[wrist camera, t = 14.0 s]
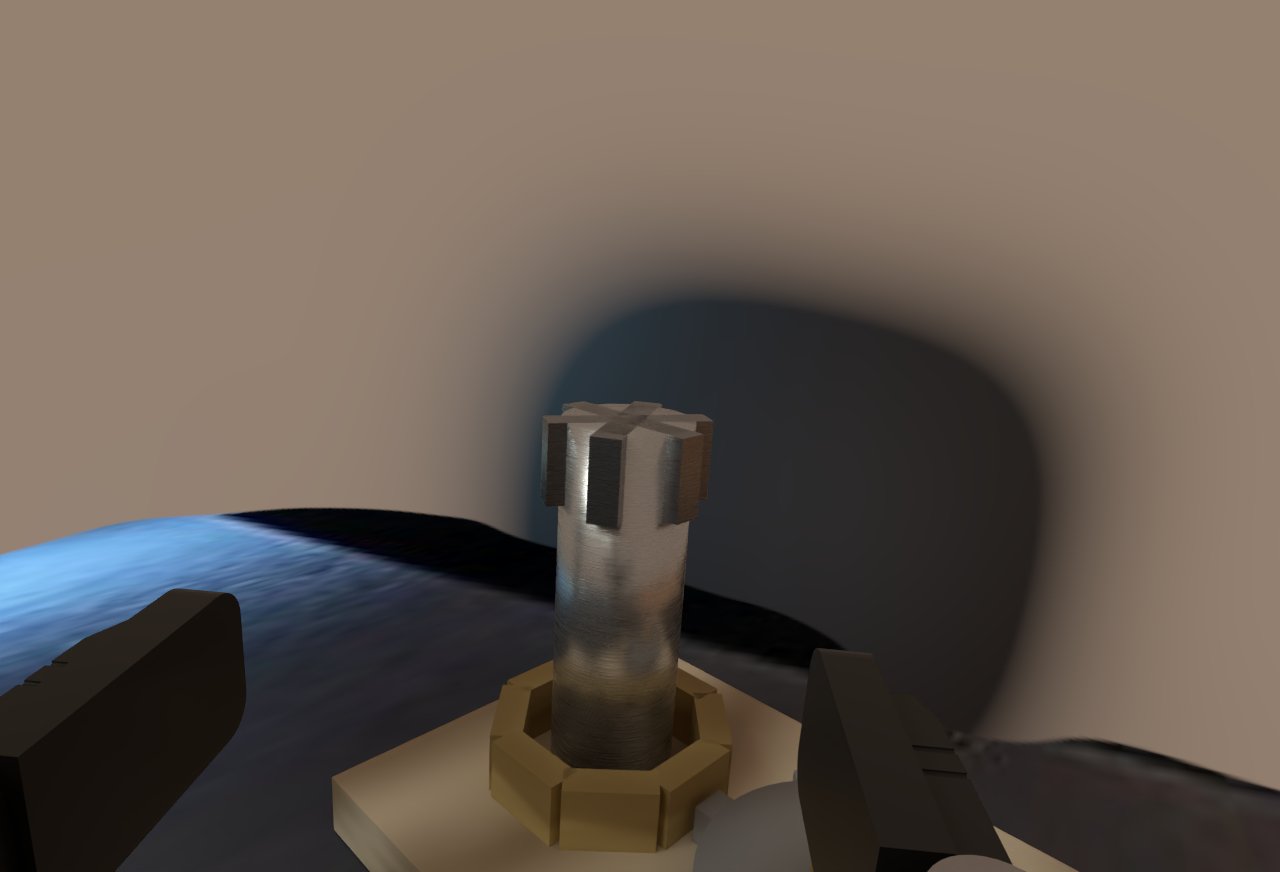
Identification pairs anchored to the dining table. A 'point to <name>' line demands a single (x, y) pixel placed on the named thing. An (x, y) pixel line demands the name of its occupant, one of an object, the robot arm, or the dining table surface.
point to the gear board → (482, 839)
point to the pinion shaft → (620, 574)
